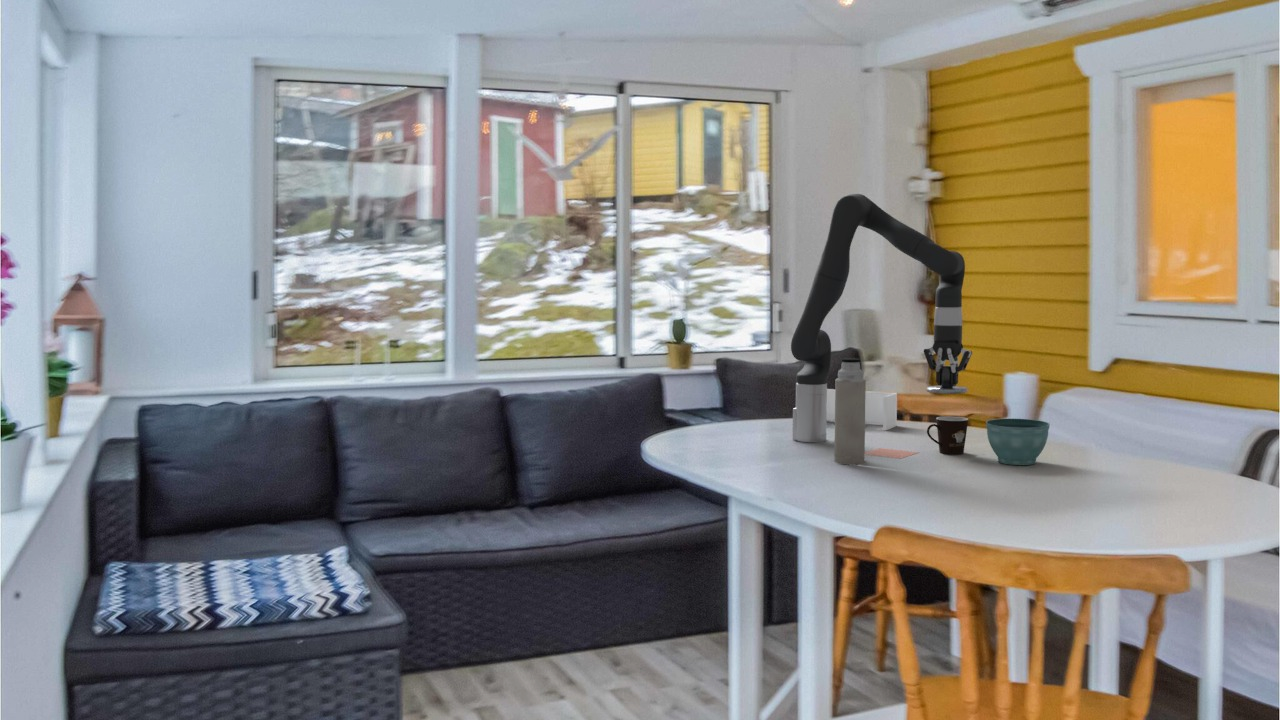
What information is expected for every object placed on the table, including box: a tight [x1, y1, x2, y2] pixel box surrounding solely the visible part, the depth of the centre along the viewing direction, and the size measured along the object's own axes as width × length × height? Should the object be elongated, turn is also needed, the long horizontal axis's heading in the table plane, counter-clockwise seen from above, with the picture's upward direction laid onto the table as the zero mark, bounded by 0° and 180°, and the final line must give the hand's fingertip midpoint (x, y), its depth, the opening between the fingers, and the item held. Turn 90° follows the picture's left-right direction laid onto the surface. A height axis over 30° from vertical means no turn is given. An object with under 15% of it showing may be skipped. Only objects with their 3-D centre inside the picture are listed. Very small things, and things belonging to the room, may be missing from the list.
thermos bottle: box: [833, 357, 867, 465], centre depth 308 cm, size 8×8×28 cm
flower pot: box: [985, 418, 1051, 466], centre depth 307 cm, size 16×16×11 cm
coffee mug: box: [926, 416, 969, 456], centre depth 320 cm, size 12×9×10 cm
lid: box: [925, 365, 968, 395], centre depth 319 cm, size 11×11×7 cm
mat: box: [865, 447, 920, 460], centre depth 320 cm, size 12×12×1 cm
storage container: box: [827, 388, 898, 431], centre depth 375 cm, size 25×11×11 cm, turn 61°
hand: (947, 385), depth 319 cm, fingers closed on lid, 3 cm apart
